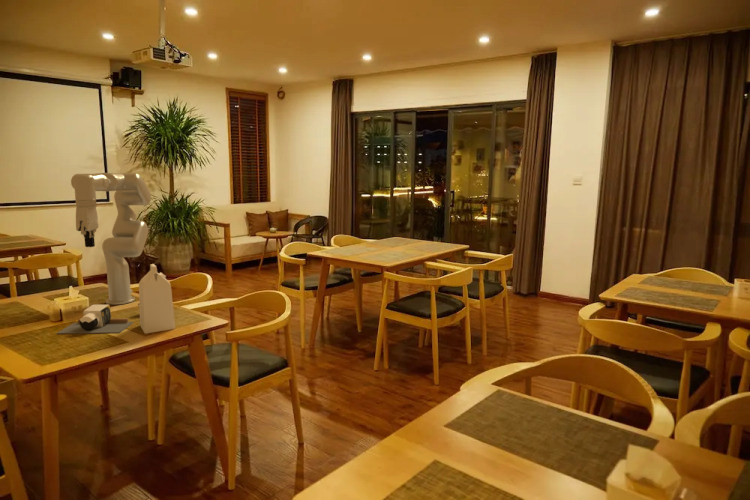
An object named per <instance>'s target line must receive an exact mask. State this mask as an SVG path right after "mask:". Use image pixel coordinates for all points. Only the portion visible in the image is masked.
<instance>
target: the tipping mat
mask: <svg viewBox="0 0 750 500" xmlns="http://www.w3.org/2000/svg"><path fill="white" fill-rule="evenodd" d="M80 319H81V318H78V319H77V322H73V323H71V324H70V325H68V326H66V327H65V328H63V329H61V330H59V331H58V332H57V333H56V335H82V334H83V335H85V334H87V335H88V334H90V335H91V334H92V335H93V334H121V333H123V331H125V330H126V329H128V328H129V327H130V326H131V325H133V324H134V321H129V318H127V317H126V318H112V319H110V322H109V323H107V324H106V325H105V326H103V327H94V328H93V329H92V330H85V329H83V328H82V327H81V326H80V323H79V321H80Z"/></svg>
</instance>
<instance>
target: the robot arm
mask: <svg viewBox="0 0 750 500" xmlns="http://www.w3.org/2000/svg"><path fill="white" fill-rule="evenodd" d="M70 179H71V180H70V185H71V187H72V189H74V196H75V207H76V208H75V228H76V231H78V232H80V235H82V236H83V238H84V247H86V248H94V247H95V245H96V244H95V233H96V232H97V229H98V228H99V219H98V218H99V217H98V212H97V211H98V210H97V197H96V196H97V195H96V192H114V196H113V199H114V202H115V203H114V204H115V206H116V210H117V216H116V219H115V222H114V224H113V227H112V231H111V234H112V236H111V237H108V238H106V239H104V241H103V243H102V252H103V255H104V259H105V266H106V276H107V287H108V289H107V290H108V298H107V299H106V300H105V303H106V305H110V306H112V305H114V306H116V305H125V304H126V305H127V304H129V303H130V304H131V303H132V302H134V301H135V300H136V298H135V296H132V293H133V292H134V291H133V289H131V280H130V266H129V263H128V262H127V260H126V259H125V258H136V257H139V256H141V255H142V253H143V250H144V249H145V245H146V241H147V239H148V234H149V228H148V227H149V226H148V225H147V222H145V221H143V220H137V214H136V213H135V211H134V210H133V209H132V208H131V207H130V206H147V205H149V204H150V203H151V201H152V195H151V191H150V190H149V187H148V186H147V184H146V182H145V180H144V179H143V177H142V176H141V175H140V174H139V173H136V172H135V173H134V172H98V173H97V172H96V173H76V174H73V176H72V177H71V178H70Z"/></svg>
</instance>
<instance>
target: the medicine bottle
mask: <svg viewBox="0 0 750 500" xmlns="http://www.w3.org/2000/svg"><path fill="white" fill-rule="evenodd" d="M110 306H111V305H110V304H92V305H90V306H88V307H87V308H85V309H84V310H83V311H82V312H83V313H82V314H83V316H82V317H81V318H79V319H80V321H79V323H80V326H81V327H82V328H83V329H85V330H92V329H93V328H94V327H103V326H105V325H106V324H107V323H109V322H110V319H113V318H112V313H111V307H110Z"/></svg>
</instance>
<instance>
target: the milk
mask: <svg viewBox="0 0 750 500" xmlns="http://www.w3.org/2000/svg"><path fill="white" fill-rule="evenodd" d="M166 277H167V275H165V274H164V273H163V272H161V271H160V272H158V268H157V265H155V264H154V263H152V264H149V270H148V272H147V273H146V274H145V275H144V276H143V277H142V278H141V279H140V281H139V282H138V301H139V303H138V304H139V305H140V306H139V305H138V306H139V326H140V328H141V330H142V331H143V334H151V333H157V332H163V331H169V330H174V329H176V321H175V311H174V303H173V292H172V286H171V282H169V281H168V279H167V278H166Z"/></svg>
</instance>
